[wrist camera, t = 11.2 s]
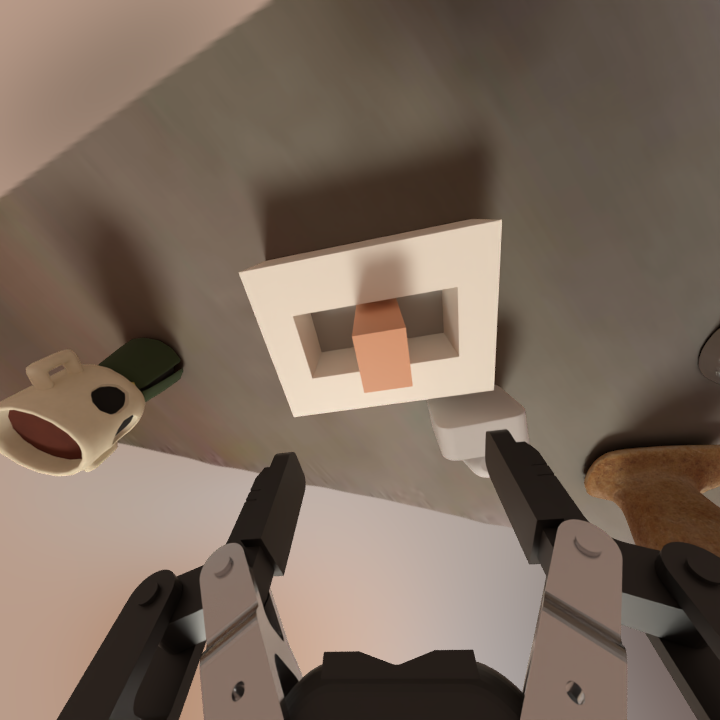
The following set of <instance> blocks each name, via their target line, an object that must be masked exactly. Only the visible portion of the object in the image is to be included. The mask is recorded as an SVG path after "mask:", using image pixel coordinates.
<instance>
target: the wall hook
mask: <svg viewBox="0 0 720 720" xmlns="http://www.w3.org/2000/svg"><path fill="white" fill-rule="evenodd" d="M427 403H428V408H429V412H430V417H431V421H432V426H433V430H434V432H435V435H436V438H437V441H438V444H439V447H440V450H441V453H442V455H443V456H444V457H445V458H447V459H449V460H463V461H464V462H465V463H466V464H467V466H468V467H469V468H470V469H471V470H472V471H473V472H474V473H475V474H477V475H478V476H481V477H490V476H489V474H488V471H487V467H486V463H485V439H486V432H487V431H493V430H503V429H507V430H508V431H509V432H510V433H511V435H512V436H513V438H514V440H515V441H516V442H523V441H525V442H527V443H528V444H529V435H528V427H527V420H526V412H525V408H524V407H523V406H522V405H521V404H519V403H518V402H517V401H516V400H515V399H514V398H512V397H511V396H510V395H509V394H508V393H507V392H505V391H504V390H503V389H502V388H501V387H499V386H497V385H494V390H492V391H485V392H477V393H470V394H463V395H455V396H448V397H440V398H433V399H428V400H427Z"/></svg>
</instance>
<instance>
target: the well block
mask: <svg viewBox="0 0 720 720" xmlns="http://www.w3.org/2000/svg"><path fill="white" fill-rule="evenodd" d="M501 230H502V220H491V219H469V220H464V221H459V222H454V223H449V224H444V225H440V226H435V227H430V228H425V229H420V230H415V231H410V232H405V233H400V234H395V235H390V236H385V237H380V238H376V239H371V240H366V241H361V242H356V243H351V244H346V245H341V246H336V247H331V248H326V249H321V250H316V251H312V252H307V253H302V254H297V255H292V256H287V257H282V258H277V259H272V260H267V261H264V262H262V263H259V264H257V265H255V266H253V267H250V268H248V269H246V270H244V271H241V272H239V275H240V277H241V280H242V282H243V285H244V288H245V290H246V293H247V295H248V298H249V301H250V303H251V306H252V309H253V311H254V314H255V316H256V319H257V322H258V324H259V327H260V329H261V332H262V335H263V337H264V340H265V343H266V345H267V348H268V350H269V353H270V356H271V358H272V361H273V363H274V366H275V369H276V371H277V374H278V377H279V379H280V382H281V384H282V387H283V390H284V392H285V395H286V397H287V400H288V403H289V405H290V408H291V411H292V413H293V416H294V417H298V416H306V415H313V414H321V413H328V412H335V411H343V410H350V409H358V408H365V407H373V406H380V405H388V404H395V403H403V402H410V401H418V400H425V399H433V398H440V397H448V396H455V395H463V394H470V393H477V392H485V391H492V390H494V378H495V357H496V336H497V315H498V293H499V272H500V251H501ZM392 298H396V299H397V302H398V305H399V308H400V311H401V314H402V317H403V320H404V323H405V326H406V332H407V341H408V349H409V358H410V366H411V375H412V383H413V386H411V387H404V388H397V389H390V390H383V391H376V392H369V393H364V390H363V385H362V380H361V376H360V371H359V367H358V362H357V358H356V353H355V349H354V344H353V339H352V332H353V325H354V317H355V310H356V305H358V304H364V303H370V302H375V301H381V300H387V299H392Z"/></svg>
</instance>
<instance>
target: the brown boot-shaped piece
mask: <svg viewBox="0 0 720 720" xmlns="http://www.w3.org/2000/svg"><path fill="white" fill-rule="evenodd" d="M584 484H585V488H586V490H587V493H588V494H589V495H591V496H593V497H597V498H602V499H606V500H610V501H613V502H615V503H616V504H617V505H618V506H619V507H620V508H621V510H622V511H623V513H624V515H625V518H626V520H627V523H628V525H629V528H630V531H631V534H632V536H633V539H634V542H635V544H636V545H638V546H642V547H646V548H651V549H655V550H659V551H661V549H662V548H663V546H664V545H666V544H667V543H670V542H684V543H689V544H693V545H696V546H698V547H701V548H703V549H705V550H707V551H709V552H711V553H713V554H715V555H716V556H718V557H720V508H719V507H718V506H717V505H715V504H714V503H713V502H711V501H710V500H709V499H707V498H706V497H705V496H704V495H703V494H702V493H705V492H706V491H708V490H710V489H713V488H717V487H718V486H720V445H679V446H655V447H644V448H631V449H622V450H616V451H612V452H608V453H605V454H604V455H602V456H601V457H599V458H598V459H597V460H595V461H594V463H593V464H592V465H591V467H590V468H589V470H588V472H587V474H586V477H585V482H584Z"/></svg>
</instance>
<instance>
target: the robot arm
mask: <svg viewBox="0 0 720 720" xmlns="http://www.w3.org/2000/svg"><path fill="white" fill-rule="evenodd" d="M699 368H700V371H701V373H702V374H703V375H704V376H705V377H706V378H708V379H710V380H712V381H714V382H716V383H718V384H720V328H719V329H718V330H717V331H716V332H715V333H714V334H713V335H712V336H711V338H710V339H709V340H708V341H707V343H706V344H705V346H704V348H703V349H702V351H701V354H700V357H699ZM485 463H486V467H487V471H488V474H489V476H490V478H491V480H492V483H493V485H494V487H495V489H496V492H497V494H498V496H499V498H500V500H501V503H502V505H503V507H504V509H505V512H506V514H507V516H508V518H509V520H510V523H511V525H512V527H513V529H514V532H515V534H516V536H517V538H518V540H519V543H520V545H521V547H522V549H523V551H524V554H525V556H526V558H527V560H528V563H529V564H541V566H542V568H543V570H544V572H545V574H546V580H545V586H544V591H543V595H542V600H541V605H540V610H539V615H538V620H537V624H536V630H535V634H534V639H533V644H532V648H531V653H530V657H529V663H528V667H527V672H526V676H525V681H524V687H523V691H522V692H521V691H520V690H519V689H518V688H517V686H515V685H514V684H513V683H512V682H511V681H509V680H508V679H507V678H506V677H505V676H503V675H502V674H500V673H499V672H497V671H496V670H494V669H492V668H490V667H488V666H486V665H485V664H482V663H479V662H476V660H475V656H474V652H473V650H434V651H432V652H429V653H427V654H425V655H422V656H420V657H417V658H415V659H412V660H410V661H407V662H405V663H403V664H400V665H394V664H390V663H388V662H385V661H383V660H380V659H377V658H375V657H372V656H370V655H367V654H364V653H362V652H359V651H358V652H324V656H323V664H322V665H320V666H318V667H316V668H315V669H313V670H312V671H310V672H309V673H308V674H306V675H305V676H304V677H302V674H301V671H300V668H299V666H298V664H297V661H296V659H295V657H294V655H293V653H292V651H291V648H290V646H289V643H288V641H287V637H286V635H285V631H284V628H283V625H282V622H281V619H280V616H279V613H278V610H277V607H276V604H275V601H274V598H273V595H272V591H271V589H270V585H271V582H272V578H273V576H283V575H284V572H285V568H286V565H287V560H288V556H289V552H290V548H291V544H292V540H293V536H294V532H295V528H296V524H297V520H298V516H299V512H300V508H301V504H302V500H303V496H304V492H305V476H304V473H303V471H302V468H301V466H300V463H299V461H298V459H297V456H296V454H295V453H294V452H288V453H279V454H276V455H275V456H274V458H273V461H272V463H271V466H270V467H267V468H264V469H263V470H262V472H261V473H260V474H259V475H258V476H257V477H256V479H255V481H254V484H253V486H252V488H251V492H250V493H249V495H248V497H247V499H246V502H245V503H244V506H243V508H242V510H241V512H240V515H239V517H238V519H237V521H236V524H235V526H234V528H233V530H232V533H231V535H230V537H229V539H228V541H227V543H226V545H224V546H222V547H220V548H219V549H217V550H216V551H215V552H214V553H213V554H212V555H211V556H210V557H209V558H208V559H207V561H206V562H205V564H204V565H203V566H201V567H198V568H196V569H194V570H191V571H189V572H186V573H184V574H182V575H179V576H177V577H176V576H175V574H174V573H173V572H172V571H170V570H161V571H158V572H156V573H154V574H152V575H151V576H149V577H148V578H146V579H145V580H144V581H143V582H142V583H141V584H140V585H139V586H138V587H137V588H136V589H135V591H134V592H133V593H132V595H131V596H130V598H129V599H128V601H127V603H126V604H125V606H124V608H123V609H122V611H121V613H120V614H119V616H118V618H117V619H116V621H115V623H114V624H113V626H112V628H111V629H110V631H109V633H108V635H107V636H106V638H105V640H104V641H103V643H102V645H101V646H100V648H99V650H98V651H97V653H96V655H95V656H94V658H93V660H92V661H91V663H90V665H89V666H88V668H87V670H86V671H85V673H84V675H83V677H82V678H81V680H80V682H79V683H78V685H77V687H76V688H75V690H74V692H73V693H72V695H71V697H70V698H69V700H68V702H67V703H66V705H65V707H64V708H63V710H62V712H61V713H60V715H59V717H58V718H57V720H179V717H180V715H181V712H182V709H183V706H184V703H185V700H186V697H187V695H188V692H189V689H190V686H191V683H192V680H193V677H194V675H195V671H196V669H197V666H198V663H199V661H200V679H201V690H202V701H203V713H204V720H627V654H626V650H625V647H624V646H623V645H622V642H621V625H624V626H627V627H630V628H633V629H636V630H639V631H642V632H645V633H646V635H647V637H648V638H649V640H650V642H651V643H652V645H653V647H654V648H655V650H656V652H657V653H658V655H659V657H660V658H661V660H662V662H663V663H664V665H665V667H666V668H667V670H668V671H669V673H670V675H671V676H672V678H673V680H674V681H675V683H676V685H677V686H678V688H679V690H680V691H681V693H682V695H683V696H684V698H685V700H686V701H687V703H688V705H689V706H690V708H691V710H692V711H693V713H694V714H695V716H696V718H697V719H698V720H720V557H718V556H716V555H715V554H713V553H711V552H709V551H707V550H705V549H703V548H701V547H698V546H696V545H693V544H689V543H684V542H670V543H667V544H666V545H664V546H663V548H662V549H661V551H659V550H655V549H651V548H646V547H642V546H638V545H633V544H629V543H625V542H622V541H619V540H616V539H613V538H611V537H610V536H609V535H608V534H607V533H606V532H604V531H603V530H602V529H600V528H599V527H597V526H595V525H593V524H591V523H590V522H589V521H588V520H587V519H586V518H585V517H584V516H583V514H582V513H581V511H580V510H579V508H578V507H577V506H576V504H575V503H574V501H573V500H572V499H571V497H570V496H569V494H568V493H567V491H566V490H565V489H564V487H563V486H562V484H561V483H560V482H559V480H558V479H557V477H556V476H554V473H553V472H552V470H551V469H550V467H549V466H547V463H546V462H545V460H544V459H543V457H542V456H541V455H540V453H539V452H538V451H537V450H536V449H535V448H533V447H532V446H531V445H529V444H528V443H527V442H525V441H523V442H516V441H515V440H514V438H513V436H512V435H511V433H510V432H509V431H508V430H507V429H503V430H493V431H487V432H486V439H485ZM206 642H207V648H206V651H204V652H203V649H204V646H205V643H206ZM202 652H203V653H202Z"/></svg>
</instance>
